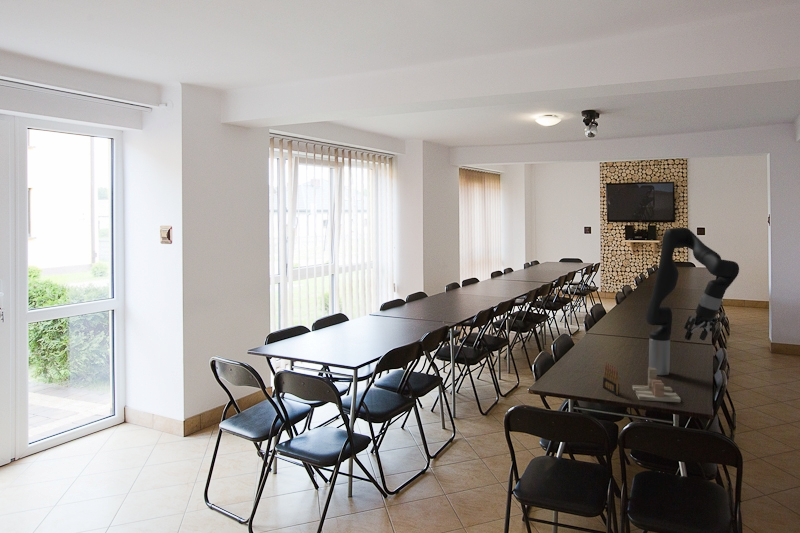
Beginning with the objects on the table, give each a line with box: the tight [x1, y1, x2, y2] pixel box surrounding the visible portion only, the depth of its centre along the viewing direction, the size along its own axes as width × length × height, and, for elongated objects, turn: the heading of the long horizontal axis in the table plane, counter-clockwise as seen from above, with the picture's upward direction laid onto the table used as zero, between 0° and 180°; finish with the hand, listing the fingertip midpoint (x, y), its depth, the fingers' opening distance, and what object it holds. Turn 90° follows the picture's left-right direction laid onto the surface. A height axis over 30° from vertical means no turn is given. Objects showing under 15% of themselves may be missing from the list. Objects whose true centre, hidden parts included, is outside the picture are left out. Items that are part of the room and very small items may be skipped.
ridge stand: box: [635, 379, 682, 403], centre depth 234 cm, size 8×16×7 cm, turn 77°
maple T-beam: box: [631, 367, 674, 393], centre depth 245 cm, size 4×16×10 cm, turn 77°
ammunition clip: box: [602, 362, 620, 396], centre depth 244 cm, size 11×2×12 cm, turn 9°
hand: (694, 339), depth 232 cm, fingers open, 8 cm apart
